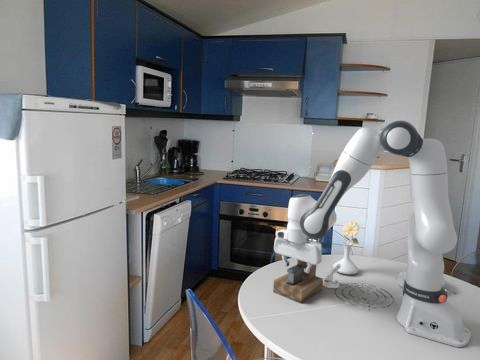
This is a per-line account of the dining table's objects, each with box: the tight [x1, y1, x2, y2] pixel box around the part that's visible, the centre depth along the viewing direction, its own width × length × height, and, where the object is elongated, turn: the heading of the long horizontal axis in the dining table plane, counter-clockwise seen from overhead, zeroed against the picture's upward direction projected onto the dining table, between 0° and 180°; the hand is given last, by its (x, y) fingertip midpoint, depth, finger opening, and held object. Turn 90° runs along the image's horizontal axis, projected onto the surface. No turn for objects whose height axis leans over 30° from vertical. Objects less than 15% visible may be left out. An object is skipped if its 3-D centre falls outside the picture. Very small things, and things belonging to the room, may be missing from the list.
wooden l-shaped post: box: [272, 238, 324, 304], centre depth 147 cm, size 13×16×23 cm
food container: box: [395, 270, 448, 290], centre depth 159 cm, size 20×20×7 cm
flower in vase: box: [332, 220, 360, 275], centre depth 168 cm, size 13×11×25 cm
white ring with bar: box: [322, 264, 341, 289], centre depth 155 cm, size 8×12×7 cm
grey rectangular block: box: [286, 264, 304, 286], centre depth 146 cm, size 2×8×10 cm, turn 139°
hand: (296, 269), depth 145 cm, fingers open, 8 cm apart
